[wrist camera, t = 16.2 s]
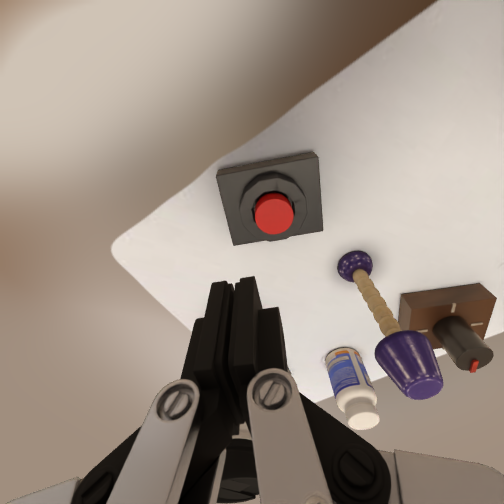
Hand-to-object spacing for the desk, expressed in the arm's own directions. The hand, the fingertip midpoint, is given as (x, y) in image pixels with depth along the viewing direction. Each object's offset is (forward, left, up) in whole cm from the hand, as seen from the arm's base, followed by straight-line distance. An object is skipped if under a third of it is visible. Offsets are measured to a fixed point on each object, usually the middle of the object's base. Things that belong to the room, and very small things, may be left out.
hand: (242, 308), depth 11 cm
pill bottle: (-9, +31, -22) cm, 39 cm away
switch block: (-2, +3, -21) cm, 22 cm away
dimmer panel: (-22, +24, -21) cm, 39 cm away
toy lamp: (-11, +14, -22) cm, 28 cm away
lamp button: (-2, +3, -18) cm, 18 cm away
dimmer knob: (-22, +24, -18) cm, 37 cm away
